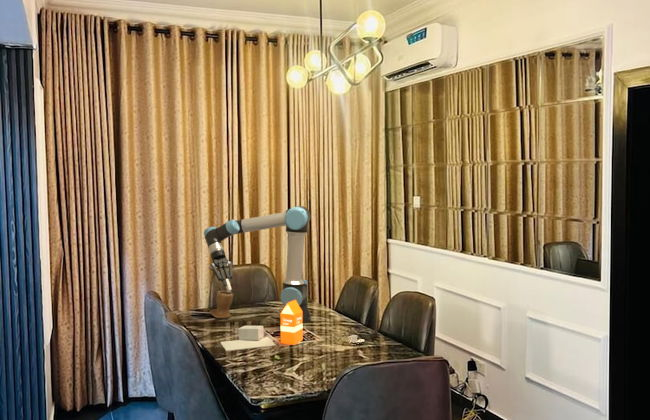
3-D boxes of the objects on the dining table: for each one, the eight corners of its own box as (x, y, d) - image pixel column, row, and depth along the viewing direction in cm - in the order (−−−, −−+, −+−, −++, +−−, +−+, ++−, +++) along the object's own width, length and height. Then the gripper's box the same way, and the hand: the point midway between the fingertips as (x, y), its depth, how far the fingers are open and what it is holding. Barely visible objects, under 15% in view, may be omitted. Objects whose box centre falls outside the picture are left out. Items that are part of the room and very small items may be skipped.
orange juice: (302, 340, 283) (302, 300, 282) (294, 344, 275) (294, 303, 274) (288, 338, 287) (288, 298, 286) (280, 343, 279) (279, 302, 278)
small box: (238, 339, 283) (258, 340, 281) (238, 328, 283) (258, 328, 281) (244, 336, 291) (264, 336, 288) (244, 325, 291) (263, 325, 288)
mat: (268, 337, 288) (268, 336, 288) (276, 345, 274) (276, 344, 274) (220, 342, 280) (220, 341, 280) (226, 351, 266) (226, 350, 266)
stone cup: (235, 318, 328) (235, 292, 328) (215, 320, 324) (214, 294, 323) (229, 312, 342) (228, 287, 341) (209, 314, 337) (208, 289, 337)
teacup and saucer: (365, 342, 280) (365, 334, 280) (361, 347, 272) (361, 338, 272) (348, 341, 283) (348, 332, 283) (343, 345, 275) (343, 337, 275)
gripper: (227, 255, 315) (239, 292, 304) (204, 258, 309) (216, 296, 297) (230, 247, 310) (243, 285, 298) (207, 250, 303) (219, 289, 292)
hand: (229, 290), depth 298 cm, fingers closed
